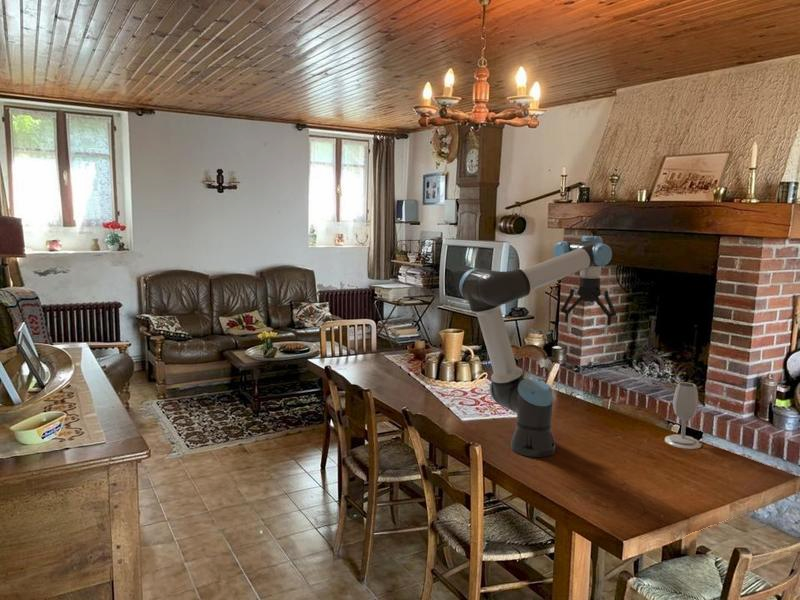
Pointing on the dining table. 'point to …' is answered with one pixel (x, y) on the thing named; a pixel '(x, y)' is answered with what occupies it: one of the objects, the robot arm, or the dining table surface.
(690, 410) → the wineglass
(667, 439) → the light grey plate
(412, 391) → the dining table surface
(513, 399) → the robot arm
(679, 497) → the dining table surface
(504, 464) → the dining table surface
